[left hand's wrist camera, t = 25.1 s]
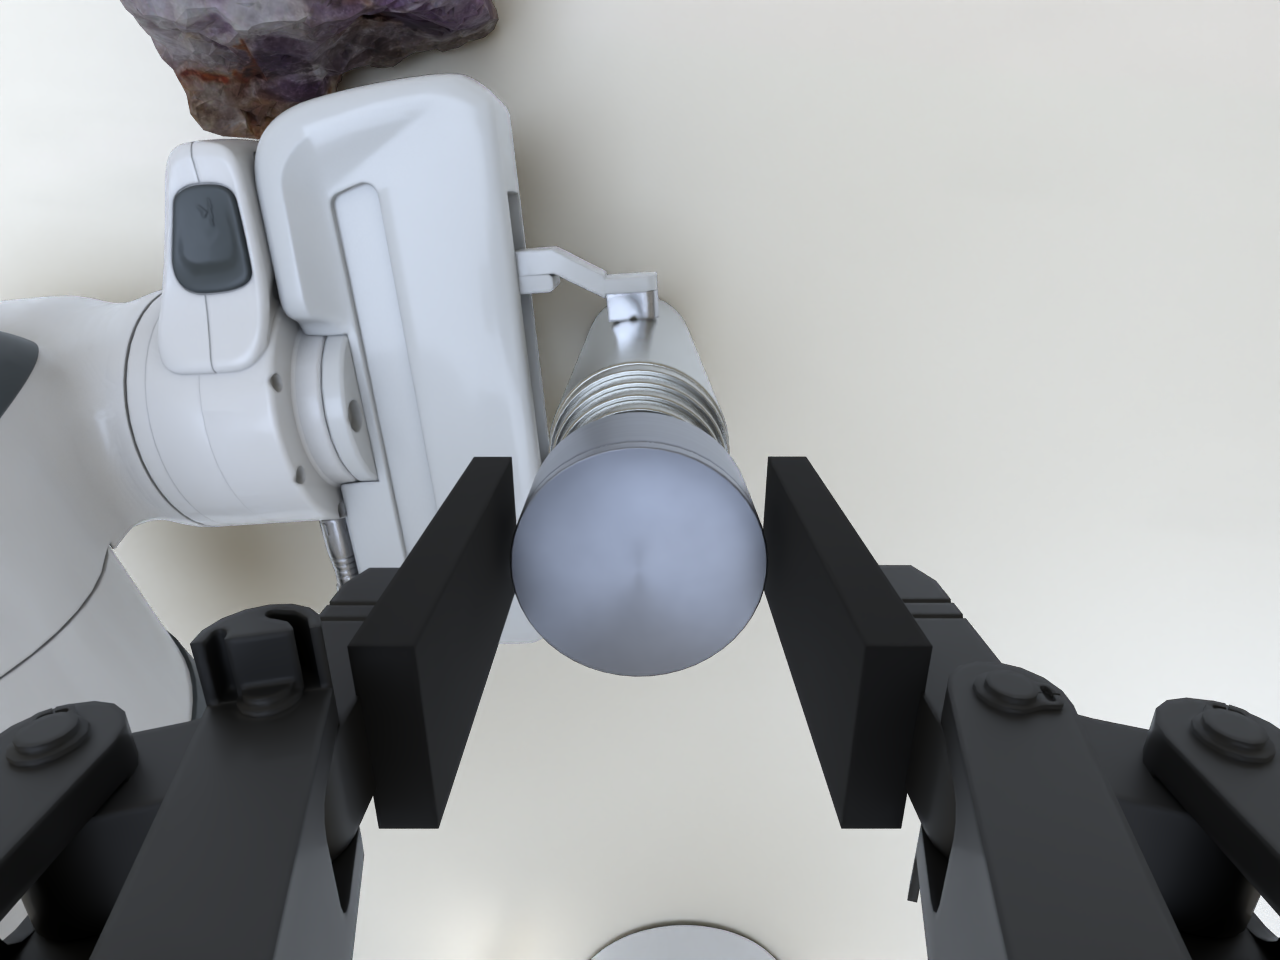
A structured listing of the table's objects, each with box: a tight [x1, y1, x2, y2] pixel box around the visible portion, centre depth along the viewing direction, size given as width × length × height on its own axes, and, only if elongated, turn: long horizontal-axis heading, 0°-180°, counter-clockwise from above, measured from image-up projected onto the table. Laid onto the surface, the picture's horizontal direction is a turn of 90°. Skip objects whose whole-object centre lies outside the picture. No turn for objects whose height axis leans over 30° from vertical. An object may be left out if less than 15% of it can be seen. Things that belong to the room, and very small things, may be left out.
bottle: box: [549, 299, 730, 455], centre depth 23 cm, size 5×5×20 cm
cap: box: [510, 412, 768, 676], centre depth 13 cm, size 4×5×2 cm
